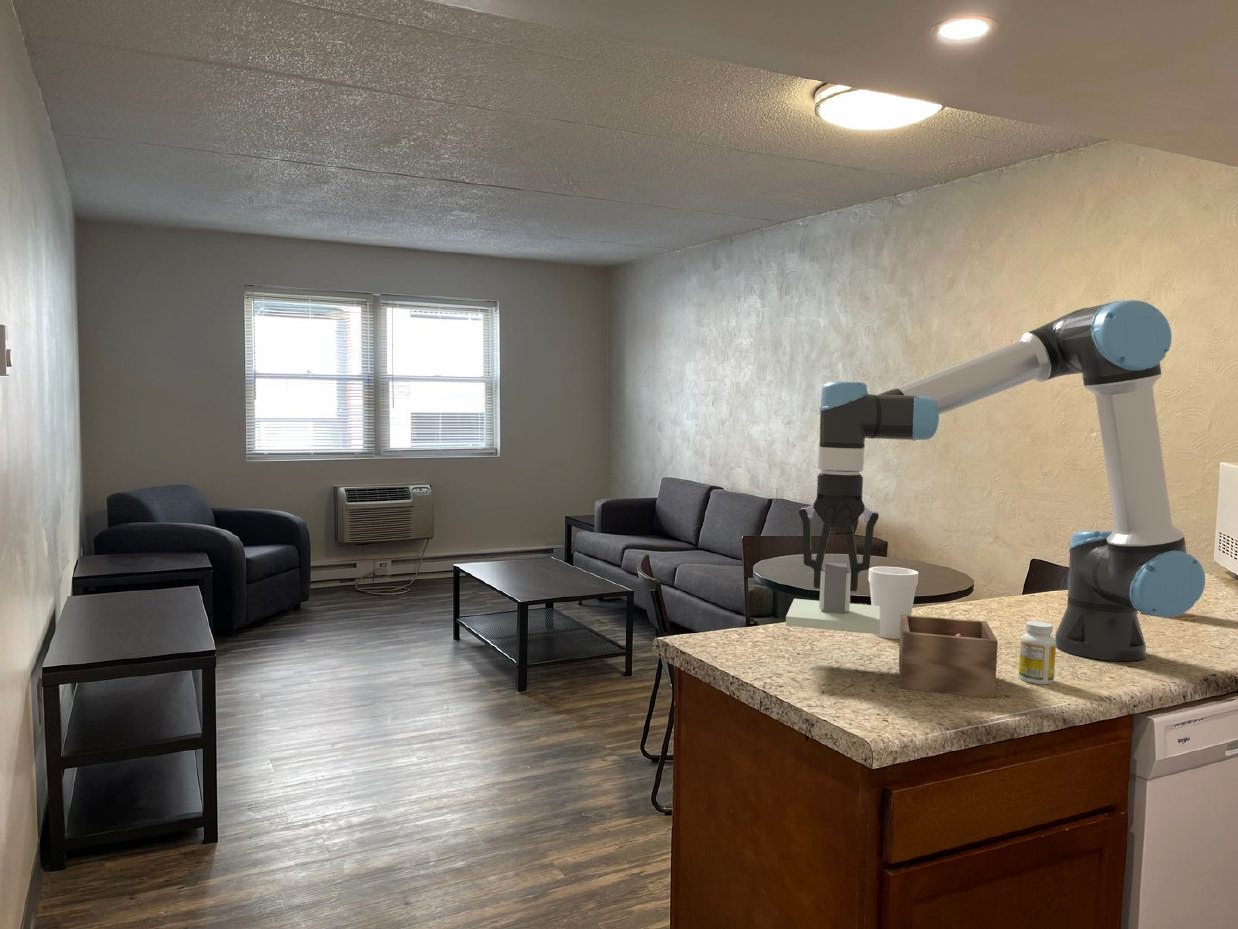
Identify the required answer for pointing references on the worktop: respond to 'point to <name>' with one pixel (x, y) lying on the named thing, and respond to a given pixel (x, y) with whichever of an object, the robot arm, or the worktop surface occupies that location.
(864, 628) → the lid
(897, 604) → the foam cup
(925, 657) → the box
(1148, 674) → the worktop surface
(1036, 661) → the supplement bottle
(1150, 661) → the worktop surface
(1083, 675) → the worktop surface
